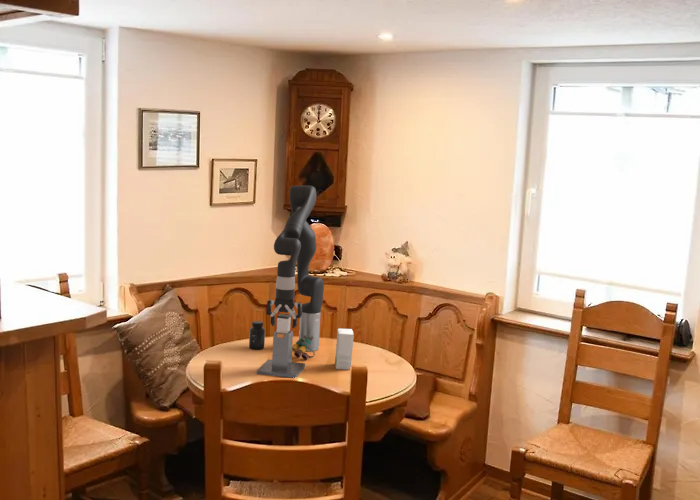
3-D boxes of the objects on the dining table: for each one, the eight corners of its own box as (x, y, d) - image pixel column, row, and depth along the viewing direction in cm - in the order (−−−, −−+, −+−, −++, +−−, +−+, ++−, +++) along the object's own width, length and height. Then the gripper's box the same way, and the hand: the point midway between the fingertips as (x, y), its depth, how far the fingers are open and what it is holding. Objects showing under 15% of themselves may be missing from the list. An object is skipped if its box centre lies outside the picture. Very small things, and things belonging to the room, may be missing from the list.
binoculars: (294, 360, 311) (287, 344, 306) (306, 346, 317) (299, 330, 311) (311, 365, 306) (303, 349, 300) (323, 351, 311) (316, 334, 306)
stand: (268, 362, 299) (269, 325, 297) (305, 366, 296) (307, 329, 294) (256, 374, 283) (258, 335, 281) (295, 378, 281) (297, 339, 278)
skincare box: (334, 363, 304) (336, 327, 301) (350, 364, 304) (352, 328, 302) (336, 369, 295) (338, 333, 293) (351, 370, 296) (354, 333, 294)
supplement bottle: (245, 348, 318) (246, 322, 316) (255, 345, 324) (256, 319, 322) (257, 351, 315) (258, 324, 313) (267, 348, 320) (268, 322, 319)
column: (277, 363, 292) (280, 313, 289) (288, 364, 291) (291, 314, 288) (274, 366, 288) (277, 316, 285) (285, 367, 287) (288, 317, 284)
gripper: (304, 287, 287) (302, 326, 290) (270, 283, 290) (269, 322, 292) (300, 290, 280) (298, 330, 282) (265, 287, 283) (263, 327, 285)
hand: (283, 326), depth 287 cm, fingers open, 8 cm apart
